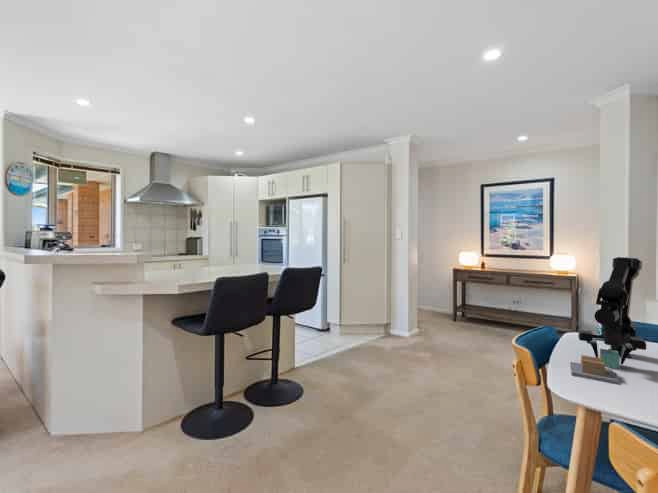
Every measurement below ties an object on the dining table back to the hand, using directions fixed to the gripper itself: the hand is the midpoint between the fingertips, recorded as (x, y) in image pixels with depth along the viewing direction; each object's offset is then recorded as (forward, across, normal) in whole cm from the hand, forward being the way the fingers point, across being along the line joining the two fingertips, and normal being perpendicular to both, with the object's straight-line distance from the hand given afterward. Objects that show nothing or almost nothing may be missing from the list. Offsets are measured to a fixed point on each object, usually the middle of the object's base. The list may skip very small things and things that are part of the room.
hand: (609, 362), depth 125 cm
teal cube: (+1, 0, 0) cm, 1 cm away
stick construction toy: (+1, +1, +35) cm, 35 cm away
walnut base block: (+1, -6, -13) cm, 14 cm away
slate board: (+1, -6, -13) cm, 14 cm away
